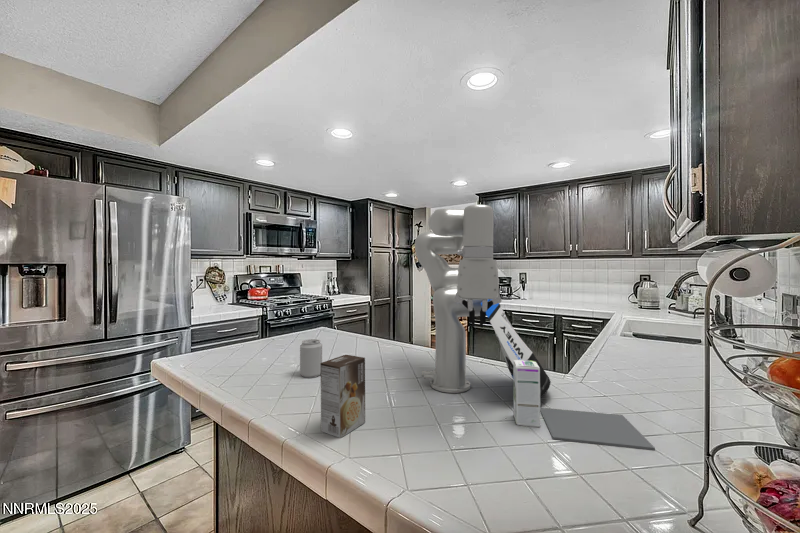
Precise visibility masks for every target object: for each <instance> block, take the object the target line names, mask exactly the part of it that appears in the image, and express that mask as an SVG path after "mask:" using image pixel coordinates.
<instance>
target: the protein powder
mask: <svg viewBox="0 0 800 533" xmlns="http://www.w3.org/2000/svg"><path fill="white" fill-rule="evenodd" d="M490 300H493V299H490ZM488 301H489V299H488ZM480 304H481V306H482V302H481V303H480ZM486 317H487V319H488V321H489V323H490V324H491V327H492V329H493V330H494V332H495V337H496V339H497V342H498V345H499V347H500V350H501V353H502V355H503V359H504V362H505V364H506V367H507V368H508V370H509V373H510V375H511V378H512V379H513V361H514V360H531V361H536V363H537V364H538V366H539V367H540V399H541V398H542V397H544V396H545V394H546V393H547V391H548V390H549V389H550V386H551V383H552V382H551V379H550V377H549V376H548V374H547V372H546V371H545V369H544V367H542V365H541V363H540V361H539V360H538V359H537V357H536V355H535V353H533V351H532V350H531V349H530V348H529V347H528V346H527V344H526V343H525V342H524V340H523V339H522V337H520V336H519V334H518V333H517V332H516V330H515V328H514V327H513V325H512V323H511V322H510V321H509V318H508V317H507V315H506V313H505V312H504V310H503V307H502V306H501V304H500V303H498V304H494V305H492V306H491V307H490V308H489V309H488V310H487V311H486Z"/></svg>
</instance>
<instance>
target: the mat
mask: <svg viewBox="0 0 800 533" xmlns="http://www.w3.org/2000/svg"><path fill="white" fill-rule="evenodd" d="M540 415H541V416H542V419H543V421H544V422H545V425H546V428H547V429H548V431H549V434H550V436H551V439H552V440H555V441H567V442H575V443H582V444H583V443H584V444H594V445H603V446H604V445H605V446H611V447H612V446H613V447H619V448H620V447H621V448H632V449H639V450H648V451H650V450H651V451H655V450H656V448H655V446H654V445H653V444H652V443H651V442H650V441H649V440H648V439H647V438H646V437H645V436H644V435H643V434H642V433H641V432H640V431H639V430H638V429H637V428H636V427H635V426H634V425H633V424H632V423H631V422H630V421H629V419H627V418H626V417H625V416H624V415H623V414H617V413H604V412H594V411H586V410H585V411H582V410H573V409H561V408H560V409H559V408H548V407H540Z"/></svg>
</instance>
